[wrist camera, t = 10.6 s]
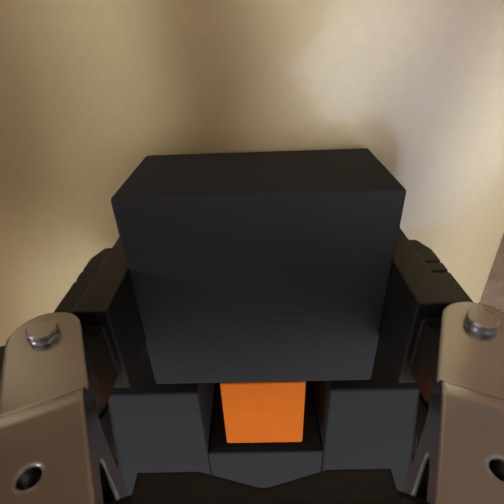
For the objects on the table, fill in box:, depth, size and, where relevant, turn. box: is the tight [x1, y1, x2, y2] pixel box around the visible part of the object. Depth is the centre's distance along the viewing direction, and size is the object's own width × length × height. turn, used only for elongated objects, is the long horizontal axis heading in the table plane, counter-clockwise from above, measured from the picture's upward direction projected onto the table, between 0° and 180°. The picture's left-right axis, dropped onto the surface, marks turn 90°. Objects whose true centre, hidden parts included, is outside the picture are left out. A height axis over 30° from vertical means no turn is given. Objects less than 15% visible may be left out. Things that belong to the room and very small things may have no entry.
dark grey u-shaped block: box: [108, 336, 420, 496], centre depth 14 cm, size 12×9×3 cm
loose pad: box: [111, 148, 406, 443], centre depth 11 cm, size 6×8×3 cm
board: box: [0, 0, 504, 347], centre depth 13 cm, size 19×21×1 cm
